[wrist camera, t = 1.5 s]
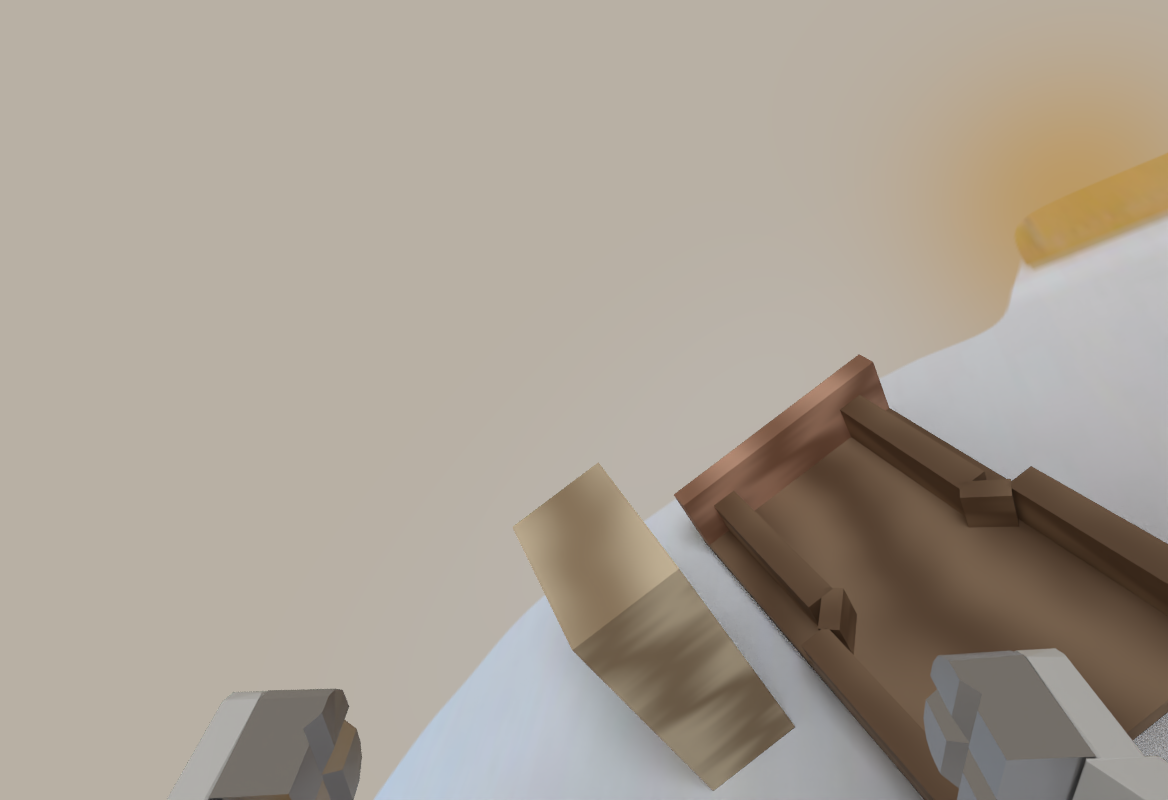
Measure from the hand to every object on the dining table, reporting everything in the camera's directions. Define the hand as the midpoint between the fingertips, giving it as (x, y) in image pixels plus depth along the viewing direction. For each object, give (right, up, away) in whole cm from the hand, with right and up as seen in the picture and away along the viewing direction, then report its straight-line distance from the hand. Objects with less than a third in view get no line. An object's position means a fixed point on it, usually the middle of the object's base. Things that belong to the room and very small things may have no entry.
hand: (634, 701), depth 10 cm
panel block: (+6, -11, +28) cm, 31 cm away
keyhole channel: (+16, -5, +27) cm, 32 cm away
